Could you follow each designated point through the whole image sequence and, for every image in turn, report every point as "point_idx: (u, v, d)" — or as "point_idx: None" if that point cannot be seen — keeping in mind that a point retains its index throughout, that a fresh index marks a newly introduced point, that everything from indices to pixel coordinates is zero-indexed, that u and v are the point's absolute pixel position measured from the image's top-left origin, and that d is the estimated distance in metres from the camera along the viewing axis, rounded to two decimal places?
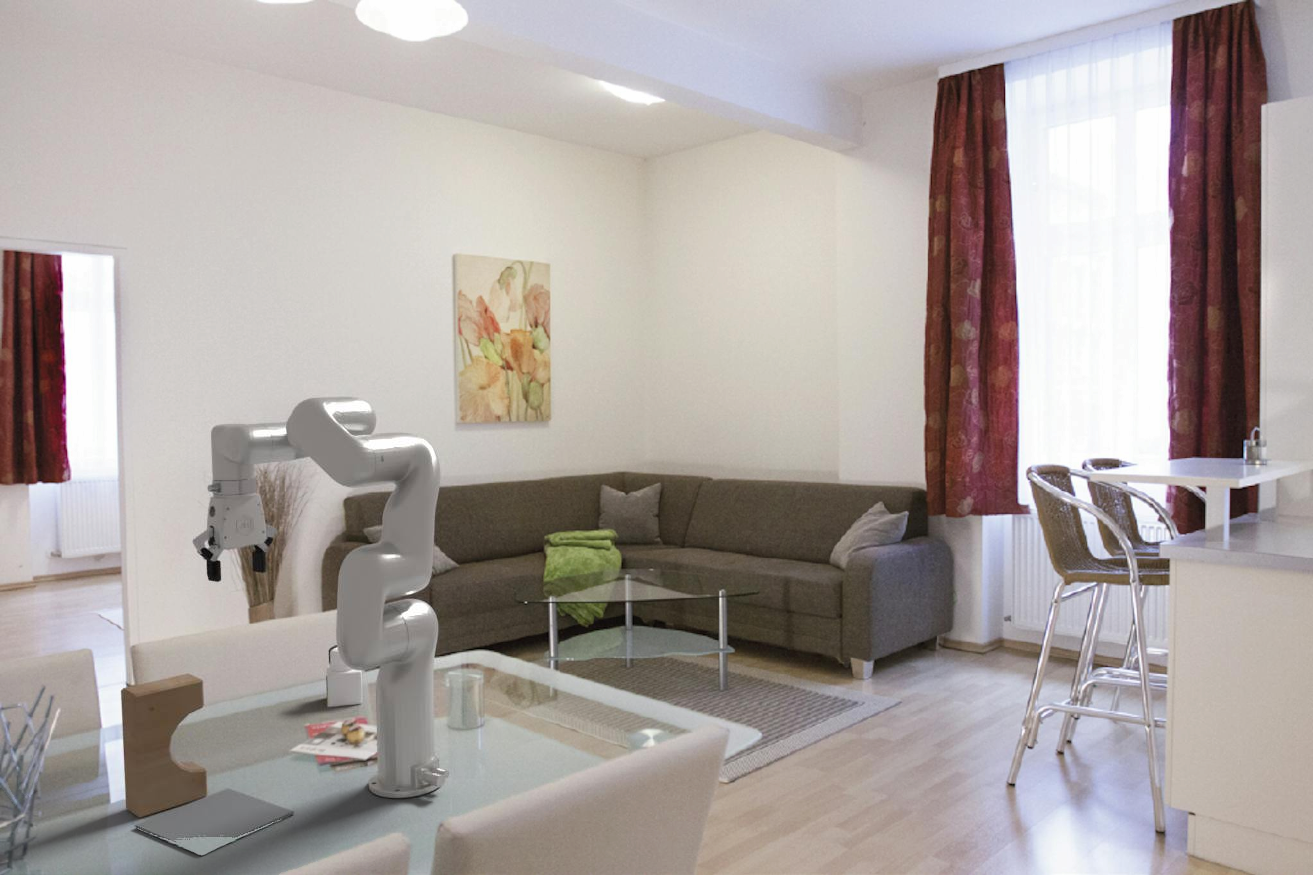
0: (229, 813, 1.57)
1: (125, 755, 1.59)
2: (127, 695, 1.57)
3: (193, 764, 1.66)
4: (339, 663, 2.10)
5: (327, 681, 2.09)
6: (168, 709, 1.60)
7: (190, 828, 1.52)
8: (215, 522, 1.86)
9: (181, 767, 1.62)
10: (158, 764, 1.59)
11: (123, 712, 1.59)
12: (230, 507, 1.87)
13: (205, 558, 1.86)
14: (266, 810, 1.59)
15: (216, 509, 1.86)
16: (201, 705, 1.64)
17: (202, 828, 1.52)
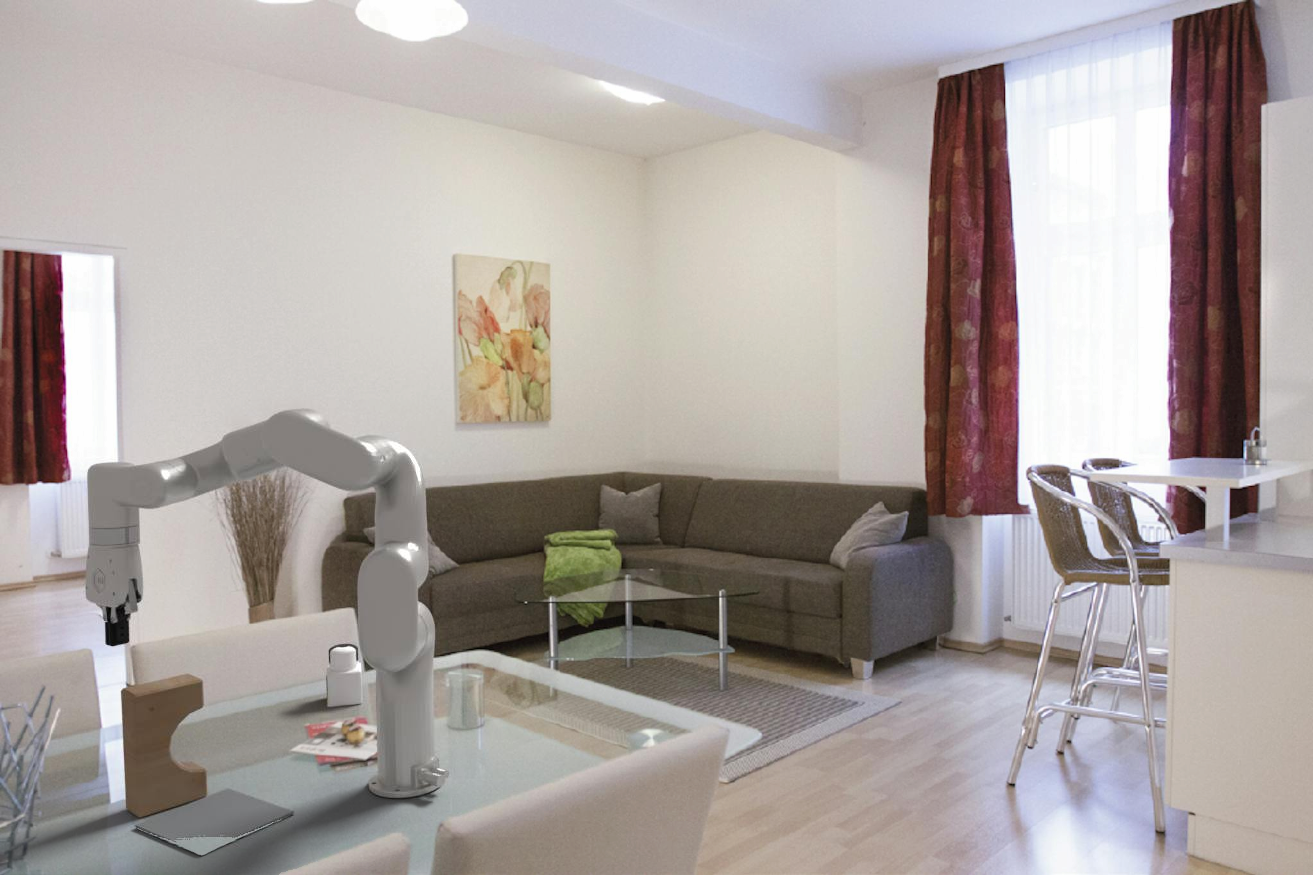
0: (229, 813, 1.57)
1: (125, 755, 1.59)
2: (127, 695, 1.57)
3: (193, 764, 1.66)
4: (339, 663, 2.10)
5: (327, 681, 2.09)
6: (168, 709, 1.60)
7: (190, 828, 1.52)
8: None
9: (181, 767, 1.62)
10: (158, 764, 1.59)
11: (123, 712, 1.59)
12: (90, 555, 1.66)
13: None
14: (266, 810, 1.59)
15: None
16: (201, 705, 1.64)
17: (202, 828, 1.52)
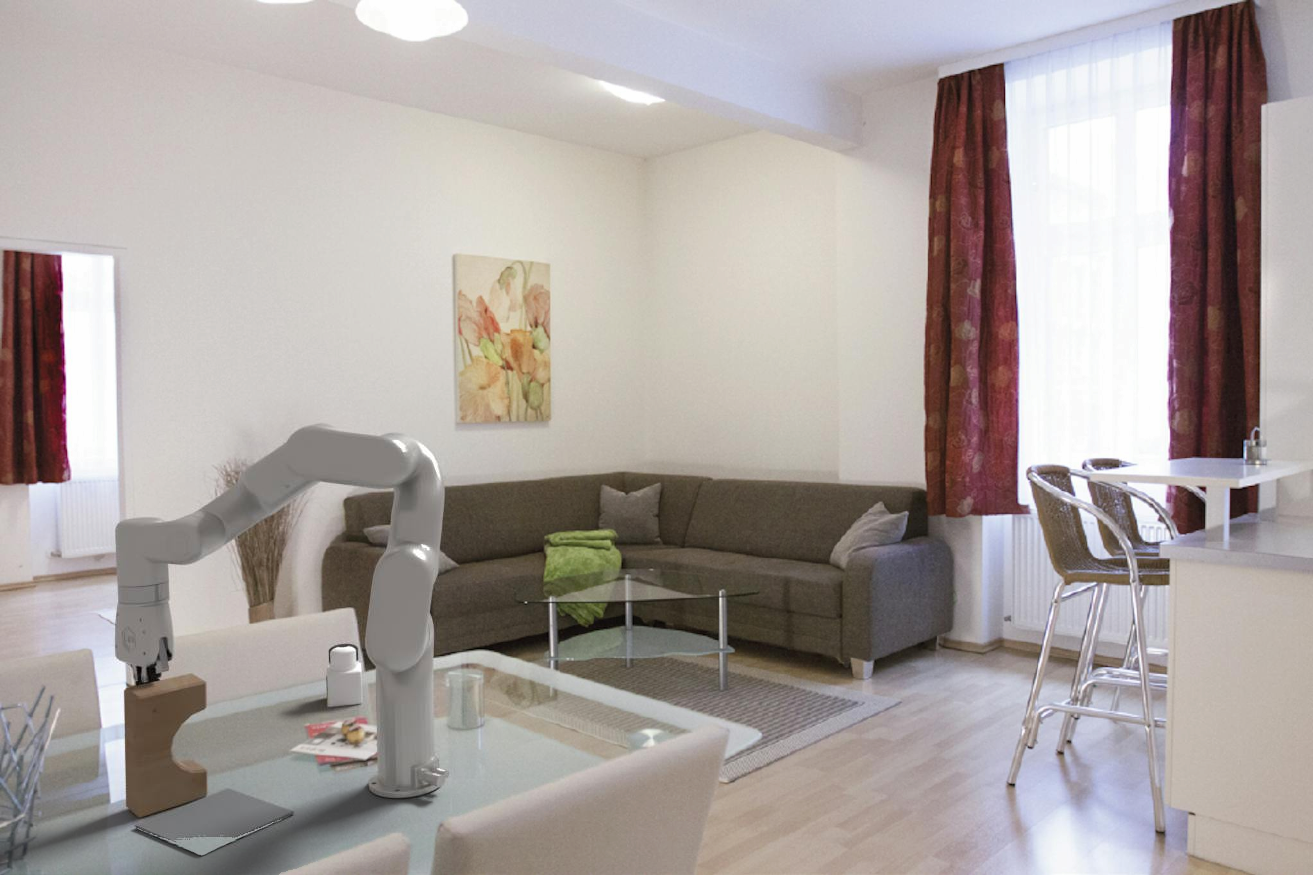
0: (229, 813, 1.57)
1: (126, 754, 1.59)
2: (130, 696, 1.57)
3: (194, 763, 1.66)
4: (339, 663, 2.10)
5: (327, 681, 2.09)
6: (171, 711, 1.59)
7: (190, 828, 1.52)
8: None
9: (182, 768, 1.62)
10: (159, 765, 1.59)
11: (126, 712, 1.58)
12: (119, 614, 1.62)
13: None
14: (266, 810, 1.59)
15: None
16: (204, 707, 1.63)
17: (202, 828, 1.52)
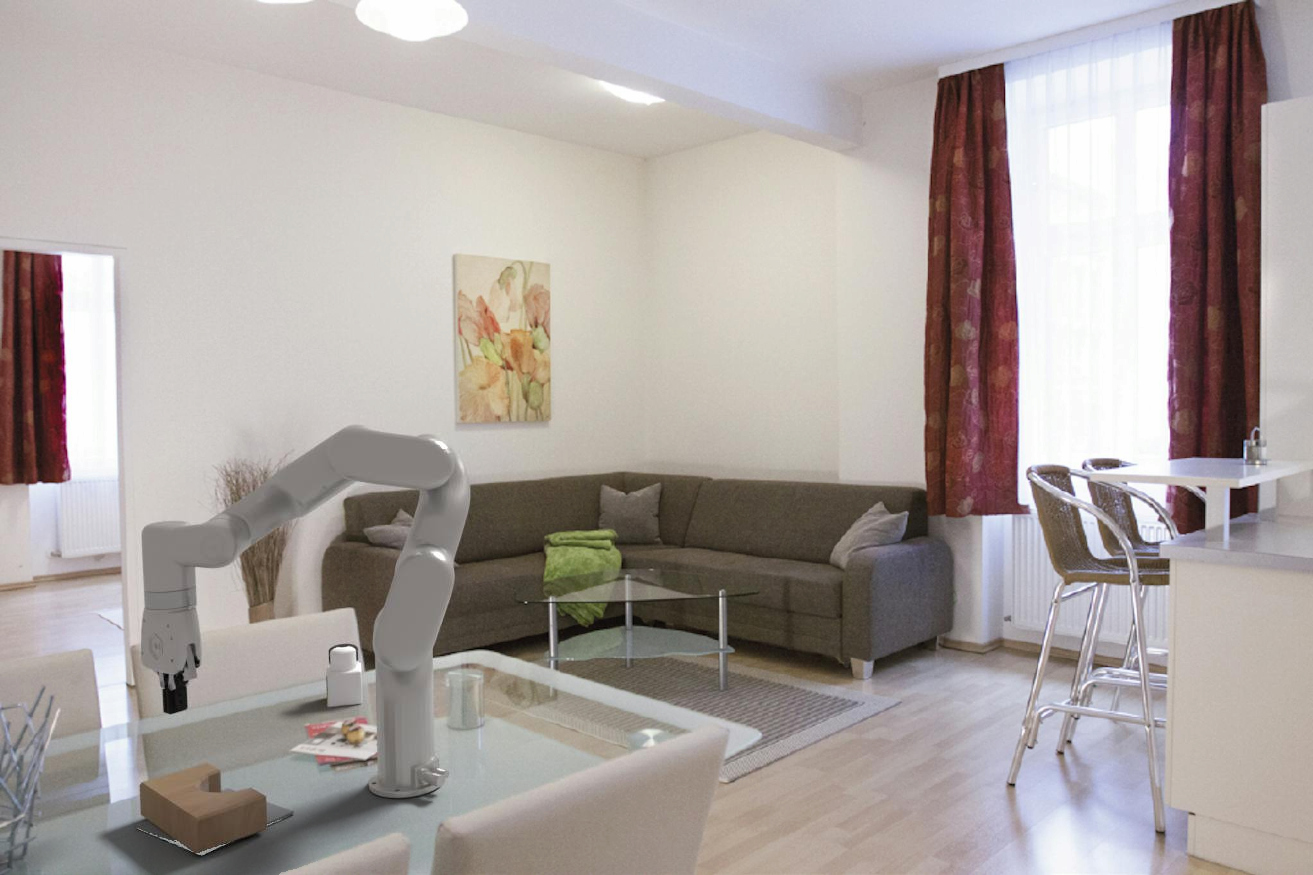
0: None
1: (163, 805, 1.50)
2: (193, 837, 1.44)
3: (217, 784, 1.61)
4: (339, 663, 2.10)
5: (327, 681, 2.09)
6: None
7: None
8: None
9: None
10: None
11: (183, 818, 1.46)
12: (146, 620, 1.58)
13: None
14: None
15: None
16: None
17: None
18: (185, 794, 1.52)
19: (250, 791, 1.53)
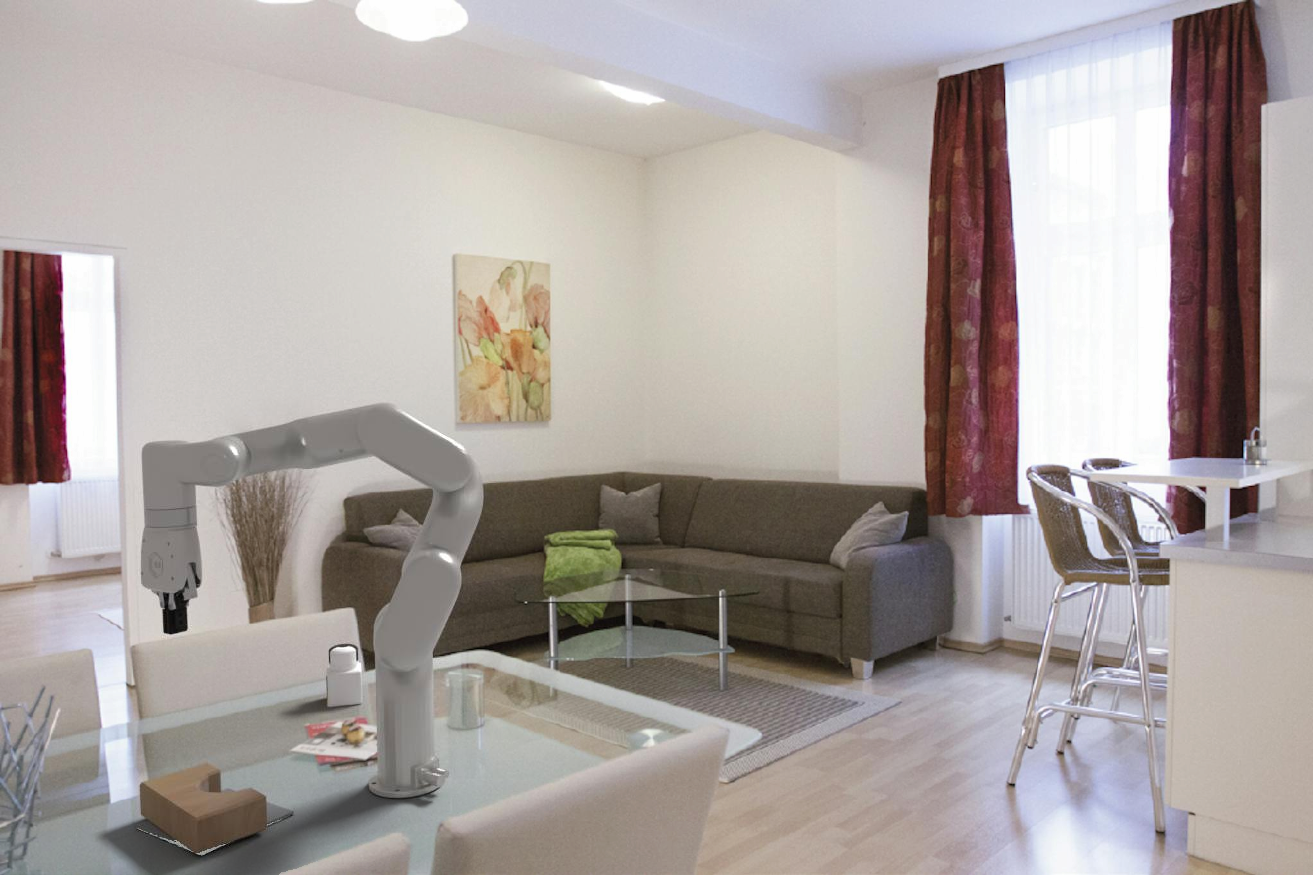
0: None
1: (163, 805, 1.50)
2: (193, 837, 1.44)
3: (217, 784, 1.61)
4: (339, 663, 2.10)
5: (327, 681, 2.09)
6: None
7: None
8: None
9: None
10: None
11: (183, 818, 1.46)
12: (145, 539, 1.57)
13: None
14: None
15: None
16: None
17: None
18: (185, 794, 1.52)
19: (250, 791, 1.53)
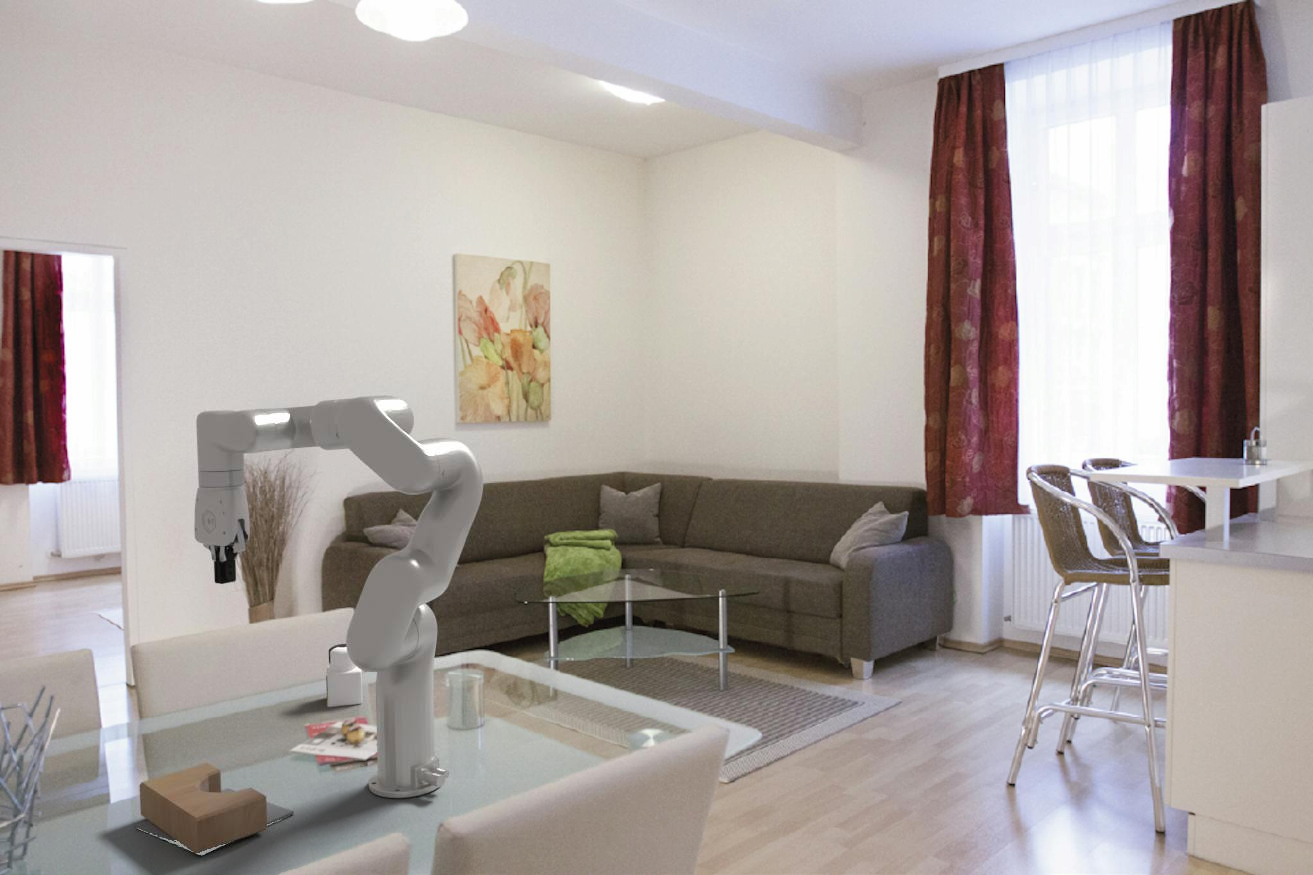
0: None
1: (163, 805, 1.50)
2: (193, 837, 1.44)
3: (217, 784, 1.61)
4: (339, 663, 2.10)
5: (327, 681, 2.09)
6: None
7: None
8: None
9: None
10: None
11: (183, 818, 1.46)
12: (199, 498, 1.76)
13: None
14: None
15: None
16: None
17: None
18: (185, 794, 1.52)
19: (250, 791, 1.53)
